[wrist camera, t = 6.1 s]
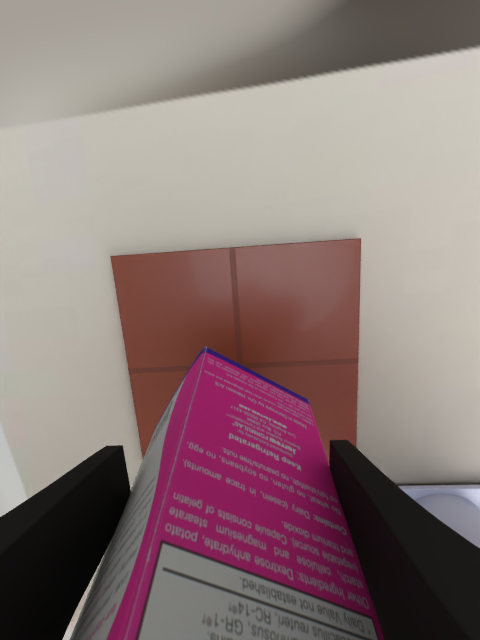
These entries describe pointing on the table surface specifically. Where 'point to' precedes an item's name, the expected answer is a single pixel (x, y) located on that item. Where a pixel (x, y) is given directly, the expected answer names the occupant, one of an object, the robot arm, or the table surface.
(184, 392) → the supplement box
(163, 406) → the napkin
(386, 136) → the table surface
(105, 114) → the table surface
